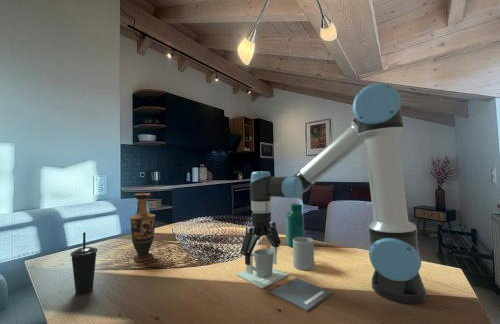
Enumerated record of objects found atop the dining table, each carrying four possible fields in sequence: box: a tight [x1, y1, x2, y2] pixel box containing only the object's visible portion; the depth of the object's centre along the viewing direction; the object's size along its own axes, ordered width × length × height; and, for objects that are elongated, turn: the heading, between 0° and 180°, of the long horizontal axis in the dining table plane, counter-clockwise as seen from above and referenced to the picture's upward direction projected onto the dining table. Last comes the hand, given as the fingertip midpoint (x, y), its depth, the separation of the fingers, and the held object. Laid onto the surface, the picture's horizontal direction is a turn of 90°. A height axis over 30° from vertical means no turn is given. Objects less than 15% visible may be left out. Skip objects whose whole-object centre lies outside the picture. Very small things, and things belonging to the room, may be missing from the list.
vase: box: [129, 192, 156, 262], centre depth 111 cm, size 11×11×30 cm
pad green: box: [236, 265, 289, 290], centre depth 91 cm, size 14×14×1 cm
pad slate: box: [270, 277, 333, 312], centre depth 78 cm, size 14×14×1 cm
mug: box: [292, 236, 315, 272], centre depth 101 cm, size 12×8×11 cm
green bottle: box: [285, 202, 305, 248], centre depth 127 cm, size 10×8×22 cm
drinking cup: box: [70, 232, 99, 296], centre depth 82 cm, size 8×8×20 cm
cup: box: [251, 248, 274, 277], centre depth 91 cm, size 8×10×8 cm
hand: (262, 267), depth 92 cm, fingers open, 12 cm apart
